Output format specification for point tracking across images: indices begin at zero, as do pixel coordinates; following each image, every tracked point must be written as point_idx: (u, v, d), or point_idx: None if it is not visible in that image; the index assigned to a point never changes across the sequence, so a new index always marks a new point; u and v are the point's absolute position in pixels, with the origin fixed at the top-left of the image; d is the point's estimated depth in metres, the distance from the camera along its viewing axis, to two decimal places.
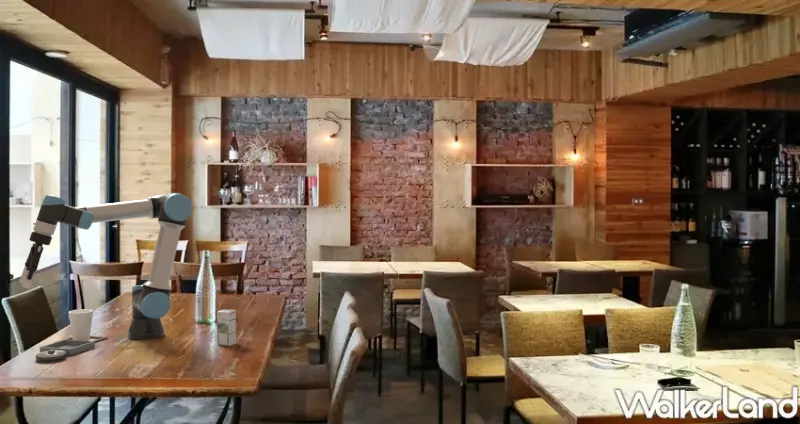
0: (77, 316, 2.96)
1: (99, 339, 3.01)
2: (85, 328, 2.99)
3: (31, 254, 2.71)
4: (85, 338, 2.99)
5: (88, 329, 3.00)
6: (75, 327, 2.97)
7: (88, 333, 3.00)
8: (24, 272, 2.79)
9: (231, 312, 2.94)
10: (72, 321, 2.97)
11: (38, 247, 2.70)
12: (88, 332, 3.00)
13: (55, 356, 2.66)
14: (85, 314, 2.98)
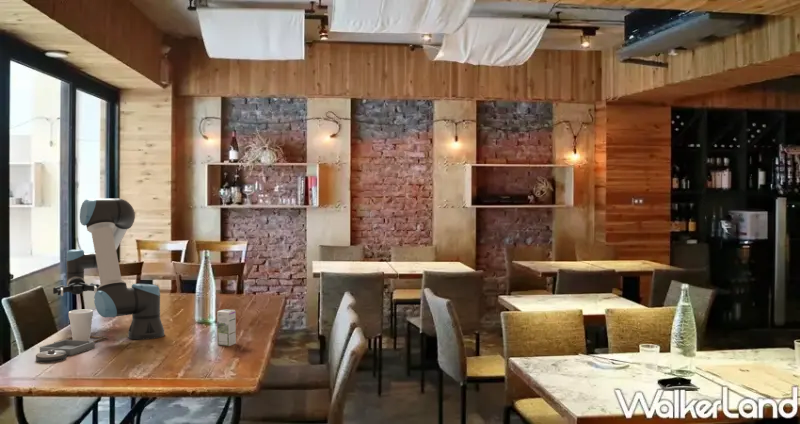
0: (77, 316, 2.96)
1: (99, 339, 3.01)
2: (85, 328, 2.99)
3: None
4: (85, 338, 2.99)
5: (88, 329, 3.00)
6: (75, 327, 2.97)
7: (88, 333, 3.00)
8: (94, 291, 3.16)
9: (231, 312, 2.94)
10: (72, 321, 2.97)
11: None
12: (88, 332, 3.00)
13: (55, 356, 2.66)
14: (85, 314, 2.98)
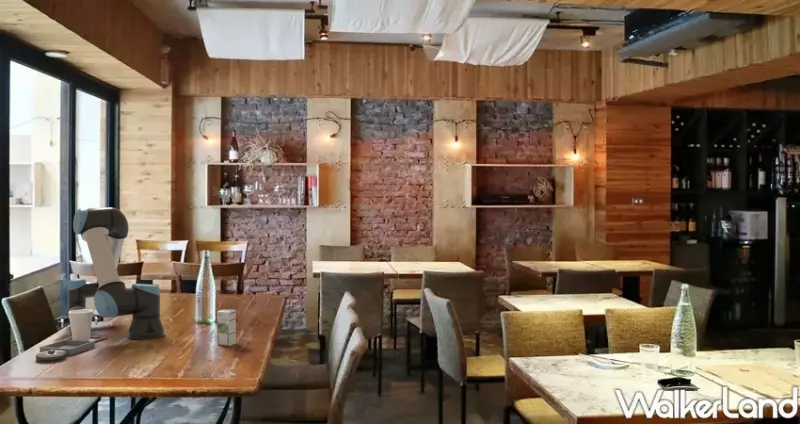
0: (77, 316, 2.96)
1: (99, 339, 3.01)
2: (85, 328, 2.99)
3: (69, 322, 3.15)
4: (85, 338, 2.99)
5: (88, 329, 3.00)
6: (75, 327, 2.97)
7: (88, 333, 3.00)
8: None
9: (231, 312, 2.94)
10: (72, 321, 2.97)
11: None
12: (88, 332, 3.00)
13: (55, 356, 2.66)
14: (85, 314, 2.98)
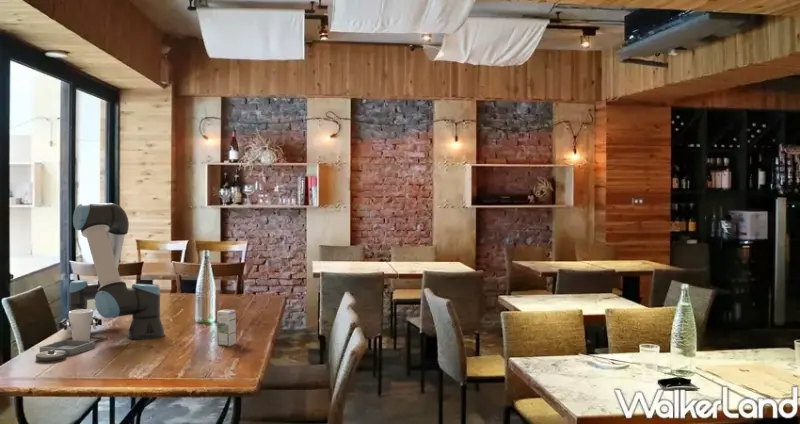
0: (77, 316, 2.96)
1: (99, 339, 3.01)
2: (85, 328, 2.99)
3: None
4: (85, 338, 2.99)
5: (88, 329, 3.00)
6: (75, 327, 2.97)
7: (88, 333, 3.00)
8: None
9: (231, 312, 2.94)
10: (72, 321, 2.97)
11: None
12: (88, 332, 3.00)
13: (55, 356, 2.66)
14: (85, 314, 2.98)
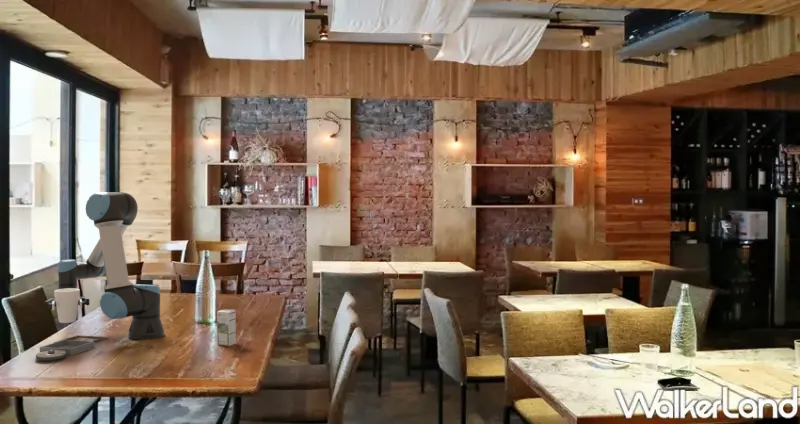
0: (62, 295, 2.84)
1: (99, 339, 3.01)
2: (71, 307, 2.86)
3: None
4: (71, 318, 2.87)
5: (74, 309, 2.88)
6: (60, 306, 2.85)
7: (74, 313, 2.88)
8: None
9: (231, 312, 2.94)
10: (58, 300, 2.85)
11: None
12: (74, 312, 2.88)
13: (55, 356, 2.66)
14: (71, 293, 2.85)
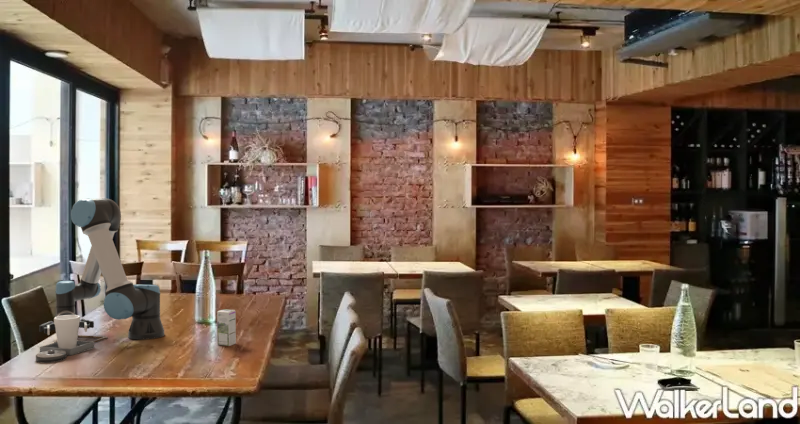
0: (63, 322, 2.79)
1: (99, 339, 3.01)
2: (71, 335, 2.82)
3: None
4: (71, 346, 2.82)
5: (75, 336, 2.83)
6: (61, 334, 2.80)
7: (75, 340, 2.83)
8: (84, 328, 2.88)
9: (231, 312, 2.94)
10: (58, 327, 2.80)
11: None
12: (75, 339, 2.83)
13: (55, 356, 2.66)
14: (71, 320, 2.81)
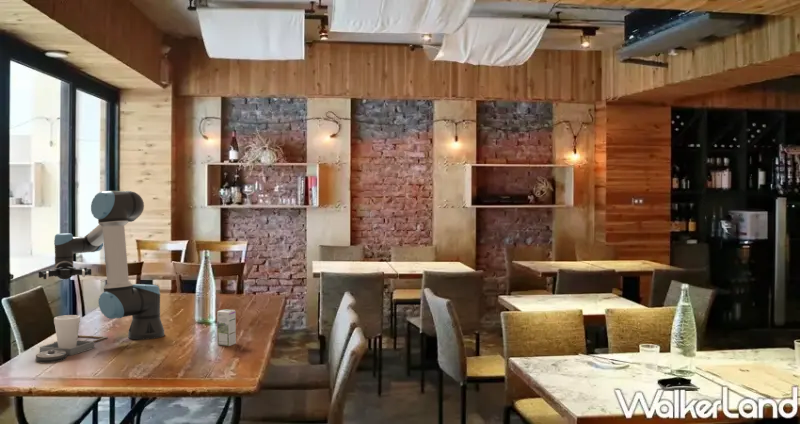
0: (63, 322, 2.79)
1: (99, 339, 3.01)
2: (71, 335, 2.82)
3: (55, 276, 3.00)
4: (71, 346, 2.82)
5: (75, 336, 2.83)
6: (61, 334, 2.80)
7: (75, 340, 2.83)
8: (82, 274, 2.98)
9: (231, 312, 2.94)
10: (58, 327, 2.80)
11: None
12: (75, 339, 2.83)
13: (55, 356, 2.66)
14: (71, 320, 2.81)
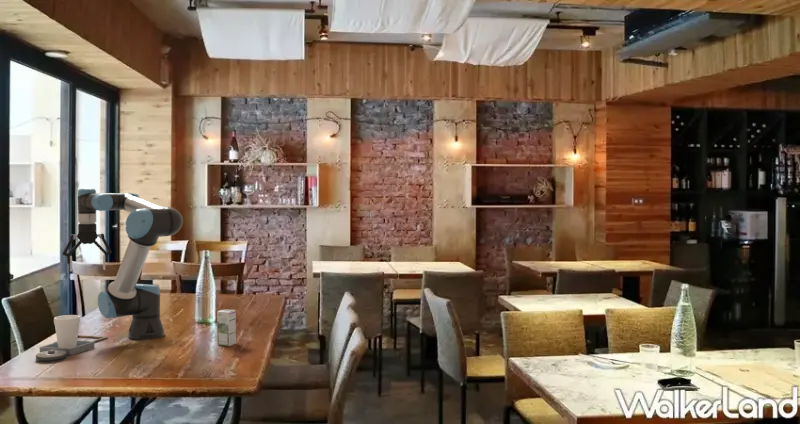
0: (63, 322, 2.79)
1: (99, 339, 3.01)
2: (71, 335, 2.82)
3: None
4: (71, 346, 2.82)
5: (75, 336, 2.83)
6: (61, 334, 2.80)
7: (75, 340, 2.83)
8: None
9: (231, 312, 2.94)
10: (58, 327, 2.80)
11: None
12: (75, 339, 2.83)
13: (55, 356, 2.66)
14: (71, 320, 2.81)
